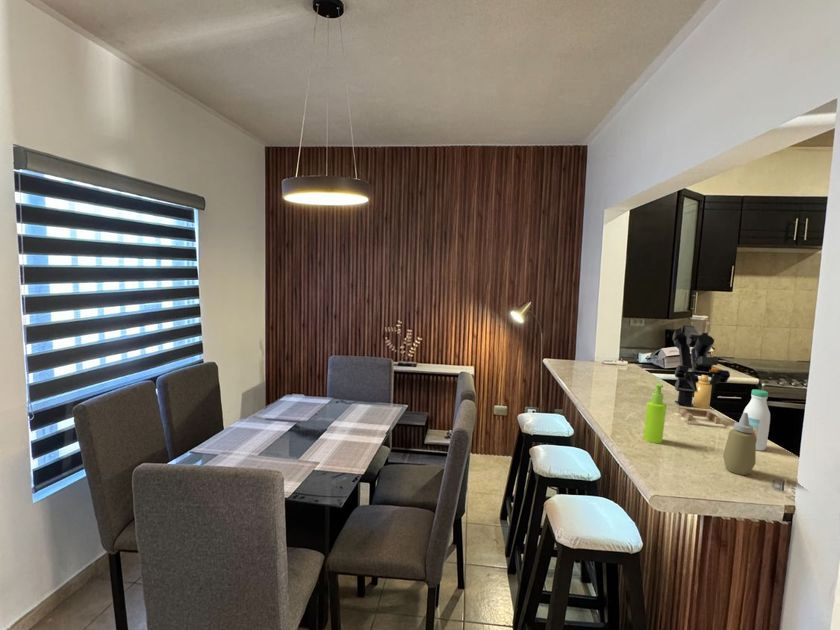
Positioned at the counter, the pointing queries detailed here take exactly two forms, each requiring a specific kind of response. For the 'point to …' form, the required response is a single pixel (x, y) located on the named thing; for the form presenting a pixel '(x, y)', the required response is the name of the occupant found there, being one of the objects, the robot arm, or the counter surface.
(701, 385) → the amber bottle
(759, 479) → the counter surface
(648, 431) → the soap dispenser
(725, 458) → the squeeze bottle
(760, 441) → the milk bottle
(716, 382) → the robot arm
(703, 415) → the u rest
